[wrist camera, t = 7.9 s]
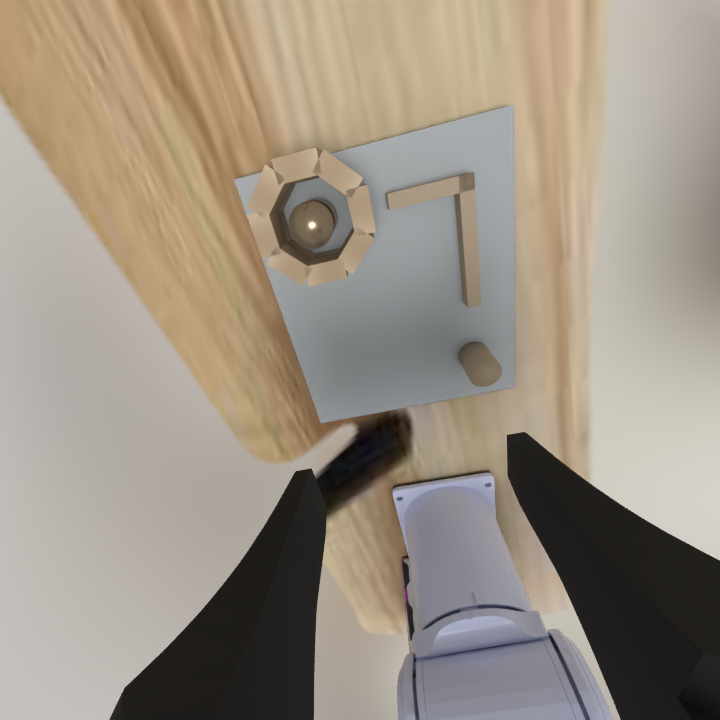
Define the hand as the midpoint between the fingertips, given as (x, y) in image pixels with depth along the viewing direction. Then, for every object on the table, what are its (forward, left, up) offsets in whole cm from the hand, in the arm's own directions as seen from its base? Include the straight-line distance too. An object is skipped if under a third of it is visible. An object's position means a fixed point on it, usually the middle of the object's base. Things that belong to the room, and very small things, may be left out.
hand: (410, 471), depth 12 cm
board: (+4, -1, -10) cm, 11 cm away
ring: (+9, +2, -9) cm, 13 cm away
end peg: (+9, +2, -9) cm, 13 cm away
